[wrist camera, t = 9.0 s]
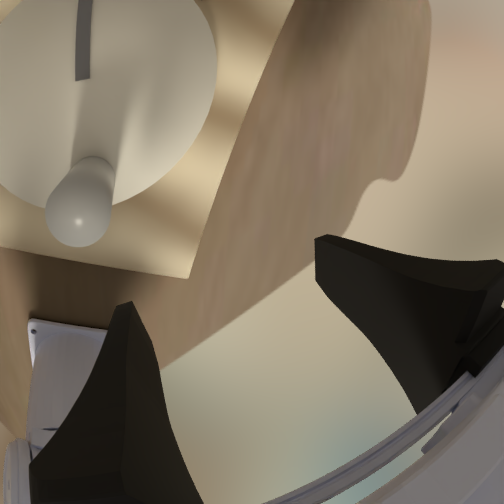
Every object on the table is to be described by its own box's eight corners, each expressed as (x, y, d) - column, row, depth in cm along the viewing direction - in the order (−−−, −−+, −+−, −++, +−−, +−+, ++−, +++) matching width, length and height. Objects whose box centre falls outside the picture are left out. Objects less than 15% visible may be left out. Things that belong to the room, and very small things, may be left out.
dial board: (183, 267, 21) (188, 280, 19) (-52, 223, 12) (-63, 233, 10) (295, -20, 14) (309, -27, 12) (56, -84, 5) (53, -95, 3)
